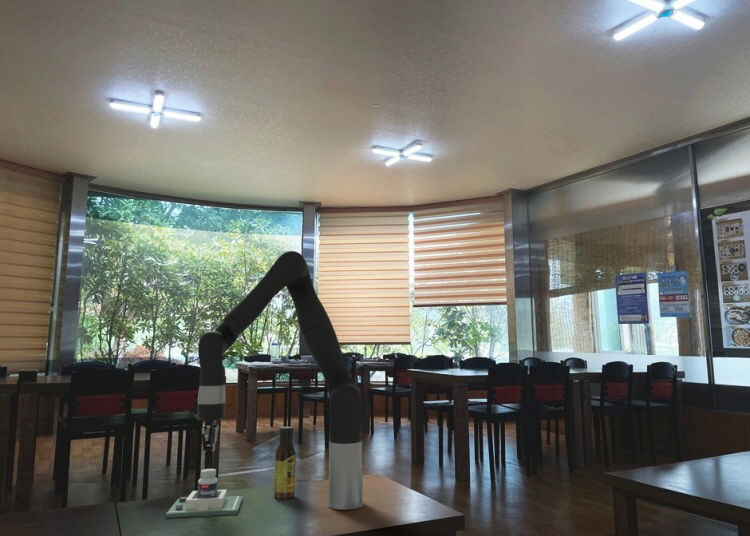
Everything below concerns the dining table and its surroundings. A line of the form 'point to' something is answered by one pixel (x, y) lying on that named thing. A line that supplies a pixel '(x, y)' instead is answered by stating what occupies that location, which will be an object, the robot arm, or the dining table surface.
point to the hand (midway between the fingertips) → (208, 465)
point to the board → (205, 505)
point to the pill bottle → (207, 484)
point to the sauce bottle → (285, 465)
